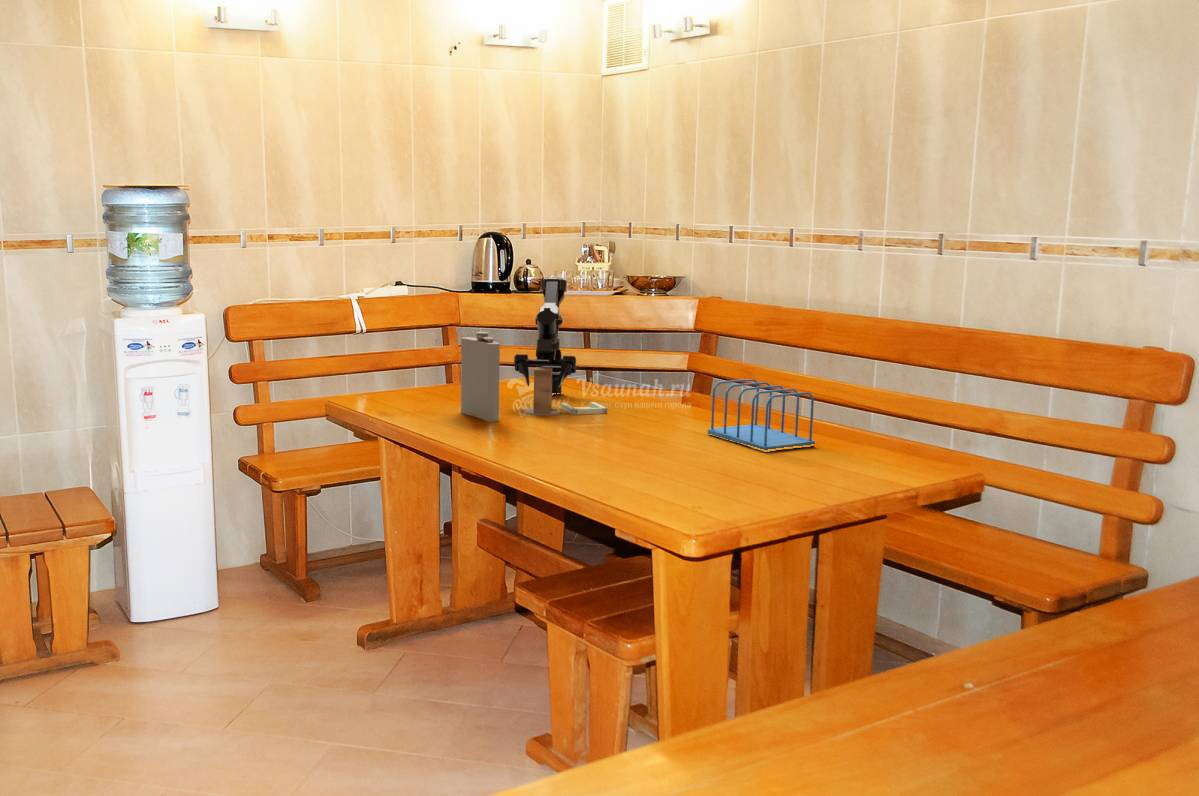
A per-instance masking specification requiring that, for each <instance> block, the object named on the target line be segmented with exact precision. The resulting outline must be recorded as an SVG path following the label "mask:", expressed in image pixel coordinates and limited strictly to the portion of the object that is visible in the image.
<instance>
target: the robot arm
mask: <svg viewBox="0 0 1199 796" xmlns="http://www.w3.org/2000/svg"><path fill="white" fill-rule="evenodd" d="M567 290H568V281H567V279H564V278H563V277H553V276H552V277H549V276H548V277H545V278H541V280H540V291H541V292H542V295H543V299H544V300H543V305H542V306H540V307H539V310H538V314H536V317H535V325H536V326H537V332H538V337H537V339H536V349H535V357H536V358H529V357H528V353H527V354H526V353H525V354H523V353H522V354H521V353H516V354H515V355H514V358H513V359H514V360H513V362H514V363H513V364H514V370H515V371H516V372H518V373H519V374H522V375H523V377H524V379H525V382H526V385H527V387H530V372H529V366H530V367H531V366H532V367H543V368H552V393H556V394H557V393H561V392H562V385H563V382H564V381H565V380H566V379H567V377H569V376H571V375H572V374H575V373H577V357H576V356H575V355H562V351H561V349H560V342H561V341H560V338H559V328H560V327H562V324H563V323H564V318H563V316H562V315H561V314H560V305H561V304H562V302H563V301H564V299H565V294H566V292H567Z"/></svg>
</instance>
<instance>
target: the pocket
mask: <svg viewBox="0 0 1199 796" xmlns="http://www.w3.org/2000/svg"><path fill="white" fill-rule="evenodd" d="M560 409H562V410H564V412H565V411H566V412H567V413H568V414H570V415H572V416H574V415H596V414H597V415H599V414H608V407H606V406H604V405H601V404H600V403H597V402H595V401H590V402H589V406H581V407H574V406H572V405H570V404H569V403H566V402H561V403H560Z"/></svg>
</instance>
